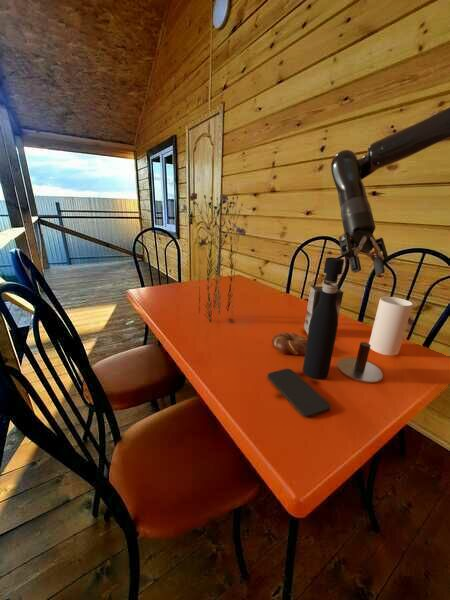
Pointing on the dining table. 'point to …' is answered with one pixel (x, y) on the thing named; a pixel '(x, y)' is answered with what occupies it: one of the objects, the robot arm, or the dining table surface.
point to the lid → (360, 367)
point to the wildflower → (240, 231)
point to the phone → (299, 393)
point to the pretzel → (289, 343)
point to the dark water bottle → (323, 324)
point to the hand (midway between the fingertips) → (369, 272)
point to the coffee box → (314, 301)
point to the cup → (390, 325)
